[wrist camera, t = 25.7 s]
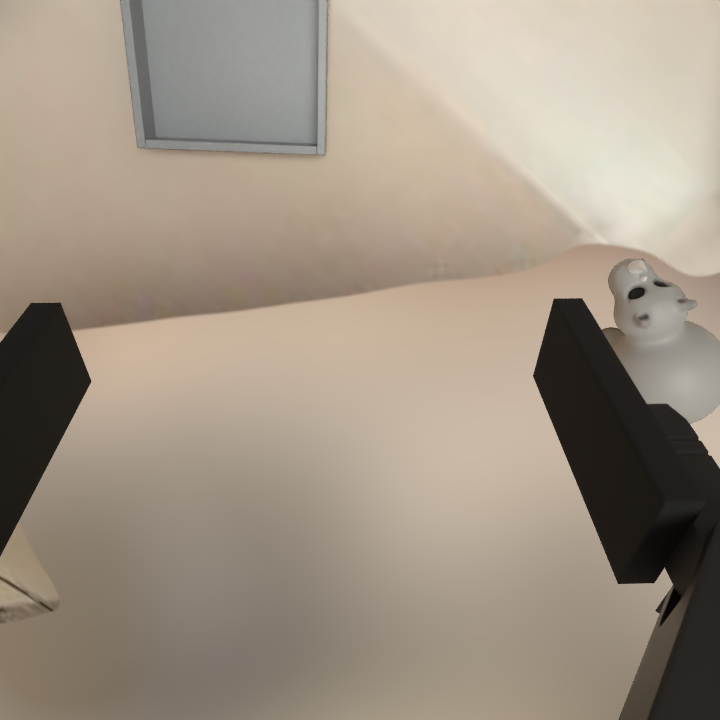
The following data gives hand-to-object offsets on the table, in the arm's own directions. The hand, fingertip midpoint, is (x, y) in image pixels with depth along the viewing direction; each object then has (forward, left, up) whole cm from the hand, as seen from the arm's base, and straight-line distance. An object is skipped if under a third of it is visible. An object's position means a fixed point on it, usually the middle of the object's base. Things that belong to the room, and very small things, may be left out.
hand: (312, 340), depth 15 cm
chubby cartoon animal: (+22, -7, -24) cm, 33 cm away
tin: (-6, +11, -23) cm, 26 cm away
